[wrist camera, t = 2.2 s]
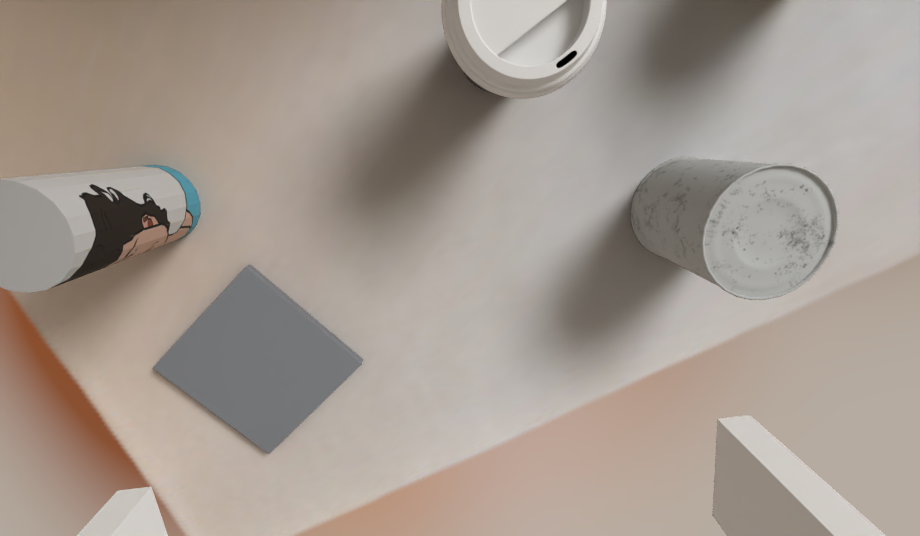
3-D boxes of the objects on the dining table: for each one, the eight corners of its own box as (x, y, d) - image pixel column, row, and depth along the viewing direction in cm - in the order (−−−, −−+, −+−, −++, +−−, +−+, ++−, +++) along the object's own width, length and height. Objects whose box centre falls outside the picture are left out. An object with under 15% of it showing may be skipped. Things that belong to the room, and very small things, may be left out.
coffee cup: (456, 123, 41) (466, 114, 26) (427, 5, 38) (421, -77, 24) (562, 95, 41) (630, 71, 26) (540, -26, 38) (603, -127, 24)
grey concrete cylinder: (671, 277, 46) (753, 326, 34) (609, 209, 44) (674, 234, 32) (750, 209, 44) (865, 234, 32) (690, 134, 42) (789, 132, 30)
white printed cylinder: (109, 213, 41) (-67, 252, 27) (142, 149, 40) (-24, 154, 26) (179, 254, 43) (47, 313, 28) (214, 193, 41) (94, 223, 27)
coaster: (158, 363, 45) (152, 368, 44) (249, 264, 43) (245, 267, 42) (272, 447, 49) (269, 454, 48) (363, 359, 46) (361, 363, 45)
